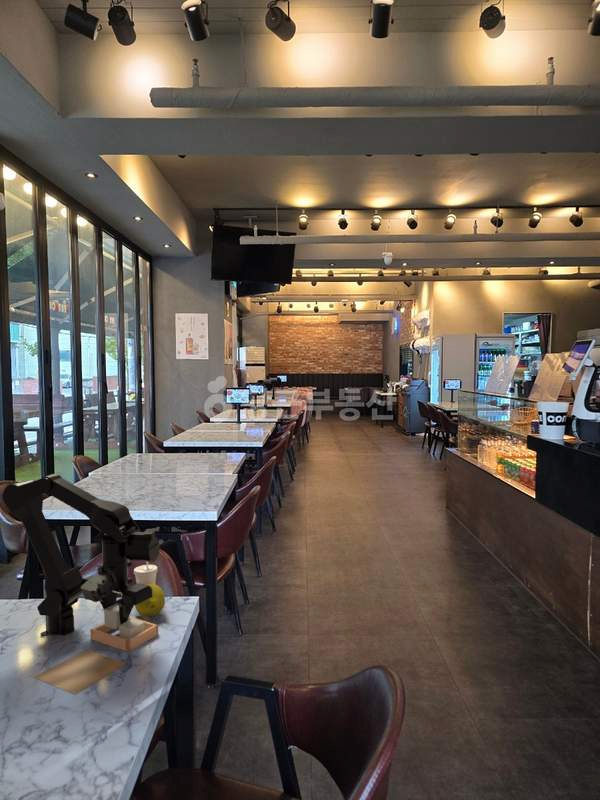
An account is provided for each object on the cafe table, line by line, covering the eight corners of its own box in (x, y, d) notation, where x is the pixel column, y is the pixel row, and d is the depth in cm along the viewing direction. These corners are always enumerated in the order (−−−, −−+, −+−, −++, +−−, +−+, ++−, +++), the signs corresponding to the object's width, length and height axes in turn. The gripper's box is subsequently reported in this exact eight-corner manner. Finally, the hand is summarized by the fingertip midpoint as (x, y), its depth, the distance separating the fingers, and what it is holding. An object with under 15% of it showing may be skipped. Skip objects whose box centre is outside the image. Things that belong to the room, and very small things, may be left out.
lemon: (136, 608, 147) (135, 579, 146) (165, 605, 148) (165, 577, 148) (132, 626, 136) (131, 595, 136) (164, 623, 138) (163, 592, 137)
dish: (90, 643, 128) (90, 629, 128) (121, 626, 136) (121, 614, 136) (128, 655, 122) (127, 641, 121) (158, 638, 130) (158, 624, 130)
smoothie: (151, 608, 146) (149, 557, 146) (130, 606, 148) (128, 555, 147) (162, 599, 153) (161, 550, 152) (142, 597, 154) (141, 548, 154)
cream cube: (119, 642, 127) (119, 625, 127) (132, 634, 130) (132, 618, 130) (131, 646, 125) (131, 629, 125) (144, 638, 128) (144, 622, 128)
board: (33, 681, 111) (33, 677, 111) (86, 653, 123) (86, 649, 123) (75, 699, 105) (75, 694, 105) (127, 668, 116) (126, 663, 116)
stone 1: (104, 625, 129) (104, 609, 129) (117, 619, 133) (117, 603, 132) (116, 629, 127) (115, 612, 127) (129, 622, 131) (129, 606, 130)
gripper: (60, 563, 127) (62, 628, 127) (115, 577, 117) (117, 647, 118) (99, 549, 136) (100, 610, 137) (153, 561, 127) (154, 626, 128)
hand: (116, 623), depth 130 cm, fingers closed on stone 1, 4 cm apart
